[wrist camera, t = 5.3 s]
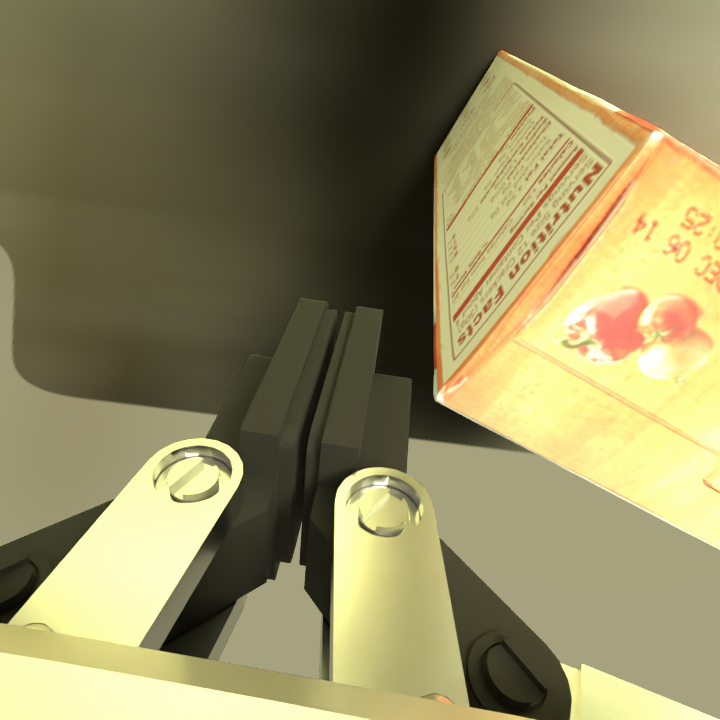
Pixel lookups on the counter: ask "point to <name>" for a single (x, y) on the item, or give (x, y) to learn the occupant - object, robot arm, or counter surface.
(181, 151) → the counter surface
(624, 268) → the cracker box
